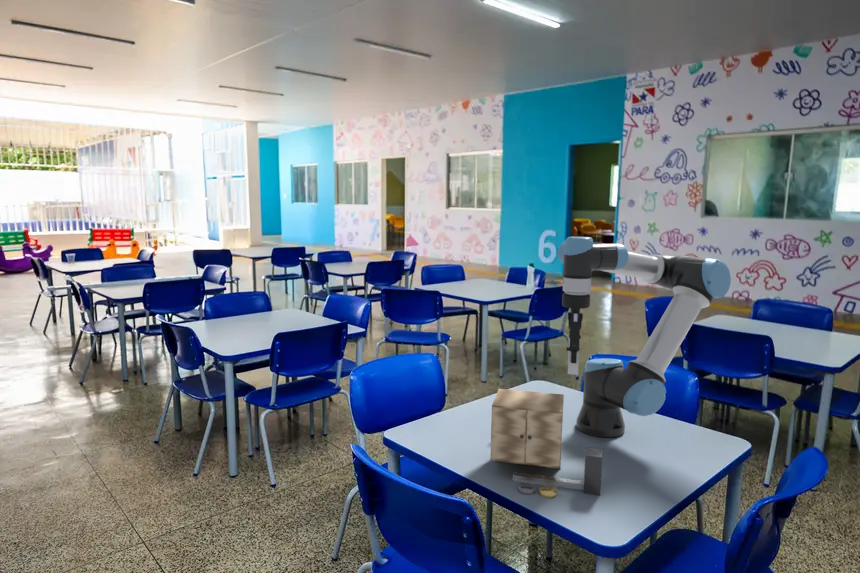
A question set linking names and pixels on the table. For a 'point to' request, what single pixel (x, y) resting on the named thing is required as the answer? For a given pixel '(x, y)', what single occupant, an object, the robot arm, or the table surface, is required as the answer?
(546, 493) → the brass disc
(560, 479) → the grey mallet
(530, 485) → the steel disc
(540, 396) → the cabinet
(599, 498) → the table surface
